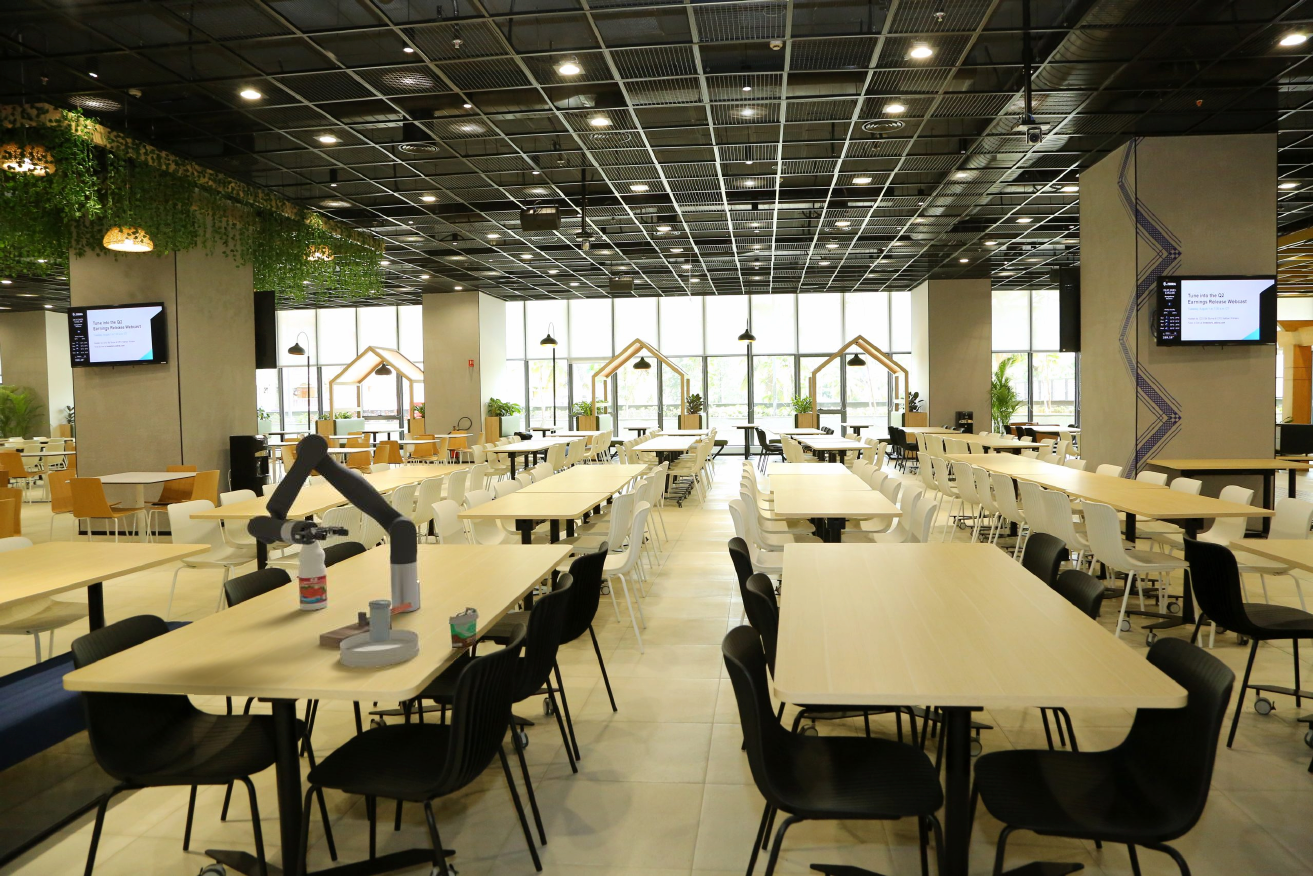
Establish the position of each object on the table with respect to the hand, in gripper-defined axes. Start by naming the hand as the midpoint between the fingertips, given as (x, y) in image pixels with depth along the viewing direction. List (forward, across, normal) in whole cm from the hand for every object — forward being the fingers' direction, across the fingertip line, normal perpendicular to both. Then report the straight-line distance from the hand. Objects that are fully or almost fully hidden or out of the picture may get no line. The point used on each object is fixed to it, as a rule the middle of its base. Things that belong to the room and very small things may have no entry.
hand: (336, 534), depth 245 cm
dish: (+20, -4, +35) cm, 40 cm away
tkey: (-1, +13, +30) cm, 33 cm away
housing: (-1, +7, +34) cm, 35 cm away
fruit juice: (-47, +30, +34) cm, 65 cm away
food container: (+38, +14, +34) cm, 53 cm away
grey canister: (+20, -4, +29) cm, 36 cm away
